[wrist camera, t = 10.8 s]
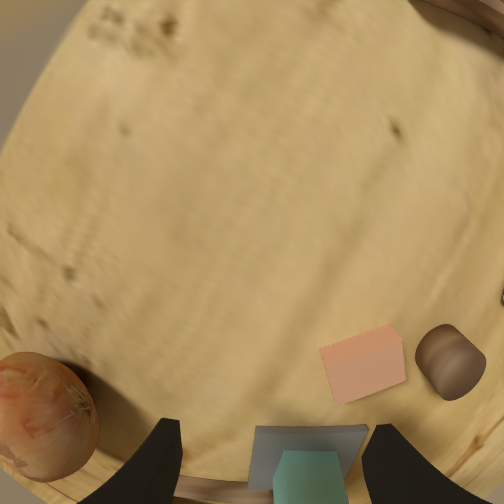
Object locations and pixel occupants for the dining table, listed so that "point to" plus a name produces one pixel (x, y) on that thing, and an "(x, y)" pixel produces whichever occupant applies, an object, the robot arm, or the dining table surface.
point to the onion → (44, 418)
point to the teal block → (309, 478)
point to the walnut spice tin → (450, 362)
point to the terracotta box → (364, 364)
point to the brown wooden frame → (221, 491)
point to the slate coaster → (301, 448)
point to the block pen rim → (477, 12)
